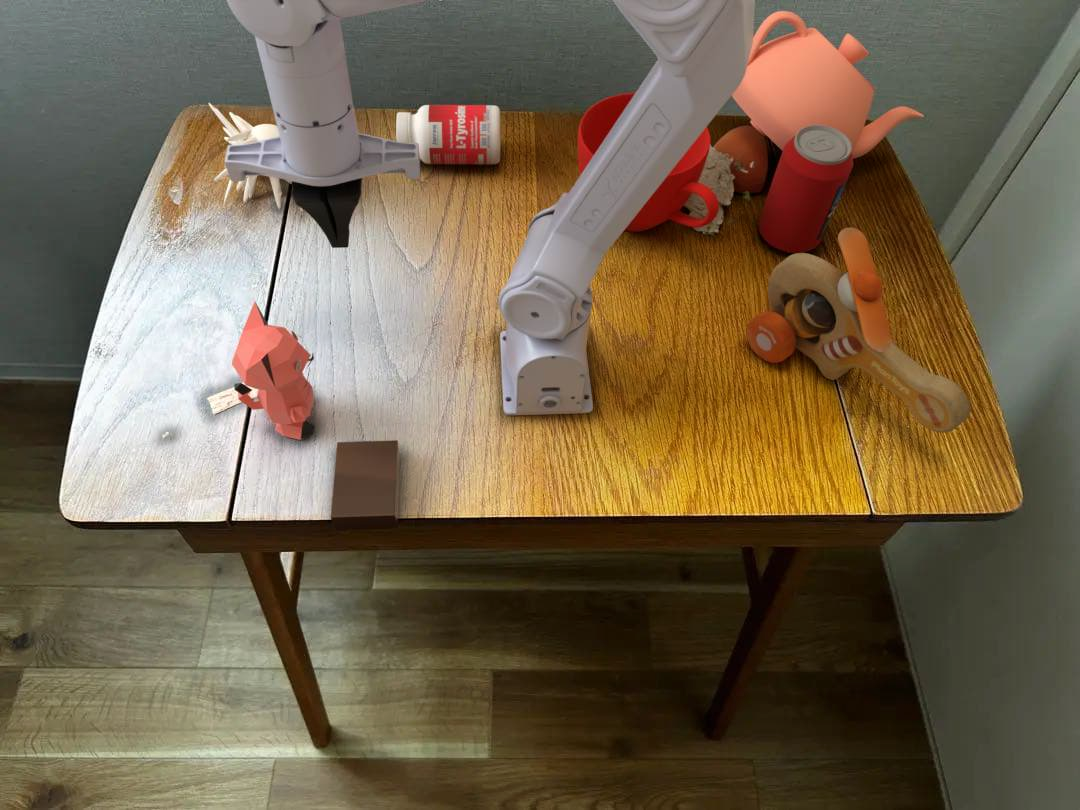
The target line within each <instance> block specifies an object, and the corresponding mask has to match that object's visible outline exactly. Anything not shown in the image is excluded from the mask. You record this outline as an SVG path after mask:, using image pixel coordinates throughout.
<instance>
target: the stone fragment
mask: <svg viewBox="0 0 1080 810" xmlns="http://www.w3.org/2000/svg"><path fill="white" fill-rule="evenodd" d="M715 143H717V140H715ZM711 144H712V143H710V148H709V153H708V156H707V159H706V162H705V165H704V168H703V171H702V173H701V176H700V178H699V180H698V182H697V183H701V184H703V185H705V186H707V187H708V188H710V189H711V190H712V191H713V192H714V193H715V195H716V197H717V199H718V202H719V211H718V214H717V216H716V218H715V219H714V220H713V221H712V222H710V223H709V224H707V225H705V226H703V227H692V229H693V230H694V231H696V232H699V233H700V232H702V234H704V235H707V236H708V235H710V236H716V234H717V233H719V232H720V230H719V228H720V226H721V224H723V222H724V221H723V220H724V208H723V206H726V207H727V208H729V206H730V205H731V203H732V202H731V200H732V198H733V197H734V192H735V191H734V187H733V186H734V185H733V181H732V180H733V179H734V178H735V176H734V175H733V174H732V173H731V172H730V169H729V168H730V164H731V162H732V161H733V158H732V157H731V159H729V158H728V157H727V156H728V154H727V156H725V155H726V154H722V152H720V151H716V149H715V148H714V146H712V145H711ZM713 149H714V150H713ZM729 157H730V156H729ZM739 158H740V157H739ZM739 158H738V159H739ZM742 159H743V157H742ZM735 160H737V159H735ZM707 161H708V162H707ZM753 164H754V162H752V163H751V165H750V167H751V168H753V166H754V165H753ZM740 165H741V166H740ZM744 165H745V164H744ZM744 165H743V164H742V163H741V162H740V161H738V162H737V161H736V163H735V165H734V166H735V170H738V169H739V166H740V168H741V169H740V170H741V171H743V172H745V173H748V171H745V169H744ZM755 170H756V169H755ZM720 173H721V178H719V176H720ZM718 178H719V180H718ZM742 194H743V195H742V198H743V199H744V201H745V203H744V204H745V207H748V205H747V203H746V200H747V201H751V193H749V191H746V192H745V193H744V192H743V193H742ZM739 203H740V204H741V201H740V202H739ZM683 207H685V209H688V210H689V214H688V215H689V216H692V217H695V218H705V217H706V216H707V213H708V210H707V205H706V203H705V201H704V200H703V199H702V198H701V197H700V196H699V195H697V194H695V193H692V194H691V196H690V198H689V199H688V200H687V202H686V203H685V204H684V205H683ZM738 209H739V210H741V208H740V207H739V208H738ZM736 213H737V214H736V216H739V215H740V214H739V213H740V211H738V210H737V211H736ZM733 215H734V214H731V213H730V215H729V216H728V217H729V220H728V221H727V222H726V227H731V226H732V224H733V222H734V220H733V218H732V217H733ZM715 233H716V234H715Z"/></svg>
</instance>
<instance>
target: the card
mask: <svg viewBox="0 0 1080 810" xmlns="http://www.w3.org/2000/svg"><path fill="white" fill-rule="evenodd" d="M241 383H242V384H244V382H243V381H242V382H241ZM244 385H245V384H244ZM245 386H246V385H245ZM247 387H249V386H247ZM249 388H250V389H252V391H251V392H250V393H249V394H248V395H249V396H250V397H251V398H252V399H253V400H254V399H255V398H257V394H258V389H255V388H252V387H249ZM206 399H207V401H208V402H209V405H210V408H211V411H212V415H213V416H214V415H216V414H218V413H220V412H223V411H225V410H227V409H229V408H232V407H234V406H236V405H238V404H241V403H243V402H242V401H240V400H239V399H238V392H237V391H236V390H235V389H234V386H233V387H230V388H228V389H226V390H223V391H220V392H218V393H215V394H212V395H210V396H209V397H207V398H206ZM168 434H169V431H166V432H165V433H164V434H163V433H162V434H161V435H162V439H165V437H168V436H169V435H168Z"/></svg>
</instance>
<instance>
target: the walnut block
mask: <svg viewBox="0 0 1080 810" xmlns="http://www.w3.org/2000/svg"><path fill="white" fill-rule="evenodd" d="M399 446H400V445H399V440H369V441H368V440H363V441H337V442H336V449H335V451H336V452H335V462H334V463H335V464H334V471H333V472H334V475H333V483H332V496H331V505H330V506H331V508H330V519H331V523H332V526H333V528H334V531H335V532H338V531H339V532H340V531H366V530H367V531H368V530H396V529H398V527H399V526H398V525H399V504H400V503H399V500H400V499H399V498H400V476H401V475H400V472H401V452H400V451H401V450H400V447H399Z"/></svg>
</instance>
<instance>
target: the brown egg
mask: <svg viewBox="0 0 1080 810" xmlns="http://www.w3.org/2000/svg"><path fill="white" fill-rule="evenodd" d="M713 147H714V148H715V149H716V151H720V152H722V154H726V155H725V156H727V154H728V156H727V157H728V158H729V159H731V157H732V158H733V161H732V162H731V164H730V168H729V169H730V172H731V173H732V174H733V175H734V176H735V178H734V179H733V180H732V181H733V185H734V186H733V187H734V192H736V193H740V194H743V192H744V193H745V192H746V191H749V194H757V193H761V191H762V190H763V188H764V185H765V182H766V178H767V174H768V169H769V168H768V167H769V166H768V165H769V158H768V148H767V143H766V140H765V138H764V136H763V135H762V134H761V133H760V132H759V131H758V130H757V129H756V128H755V127H754V126H753V125H741V126H738V127H735V128H733V129H731V130H729V131H728V132H726V133H725V134H724V135H723V136H722V137H721V138H720V139H718V140H717V141H716V142H715V144H714V145H713ZM713 150H714V149H713ZM729 156H730V157H729ZM739 157H740V158H739ZM742 157H743V159H742ZM738 158H739V159H738ZM735 159H737V160H735ZM736 161H737V162H738V161H740V162H741V163H742V164H743V165H744V164H745V165H744V169H745V171H748V173H745V172H743V171H741V170H740V169H741V168H740V166H741V165H740V166H739V169H738V170H735V166H734V165H735V163H736ZM707 162H708V161H707ZM752 162H754V164H753V165H754V166H753V168H751V167H750V165H751V163H752ZM755 169H756V170H755ZM719 178H721V173H720V176H719ZM719 178H718V180H719Z"/></svg>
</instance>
